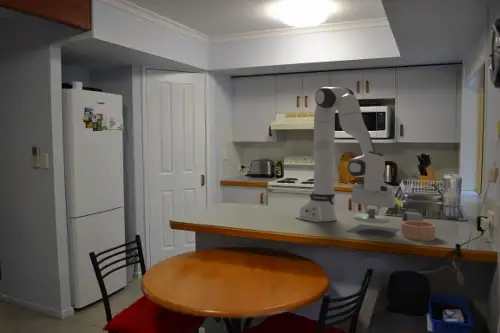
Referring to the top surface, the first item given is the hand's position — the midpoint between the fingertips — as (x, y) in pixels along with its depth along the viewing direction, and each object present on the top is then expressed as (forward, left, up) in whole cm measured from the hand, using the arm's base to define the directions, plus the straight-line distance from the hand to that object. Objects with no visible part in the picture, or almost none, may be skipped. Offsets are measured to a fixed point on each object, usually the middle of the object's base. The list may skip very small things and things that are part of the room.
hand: (371, 214), depth 196 cm
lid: (0, 0, -2) cm, 2 cm away
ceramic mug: (+13, +22, -8) cm, 27 cm away
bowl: (+21, +1, -8) cm, 22 cm away
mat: (+1, +1, -8) cm, 8 cm away
